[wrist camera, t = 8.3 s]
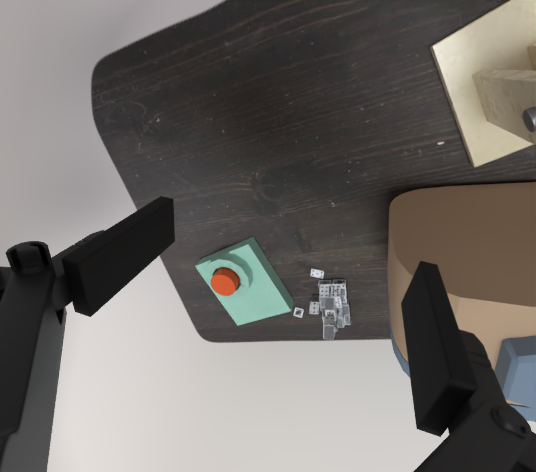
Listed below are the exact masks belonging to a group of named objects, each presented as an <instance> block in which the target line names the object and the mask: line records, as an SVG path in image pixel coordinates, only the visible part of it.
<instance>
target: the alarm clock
mask: <svg viewBox="0 0 536 472" xmlns="http://www.w3.org/2000/svg"><path fill="white" fill-rule="evenodd" d="M420 261H424V262H429V263H433V264H437V265H438V268H439V271H440V274H441V277H442V280H443V283H444V286H445V289H446V292H447V295H448V298H449V301H450V304H451V307H452V310H453V313H454V316H455V319H456V322H457V325H458V328H459V329H460V330H464V331H467V332H471V333H474V334H475V335H476V337H477V338H478V339H479V340H480V341H481V343H482V344H483V345H484V347H485V350H486V352H487V355H488V359H489V360H490V362H491V365H492V369H493V370H494V372H495V375H496V377H497V380H498V382H499V384H500V387H501V389H502V392H503V394H504V397H505V399H506V402H507V404H509V405H510V406H512V407H513V408H515V409H516V410H517V411H518V412H519V413H520V414H521V415H522V416H523V417H524V418H525V420H528V421H535V422H536V182H528V183H506V184H484V185H462V186H446V187H436V188H426V189H417V190H414V191H410V192H406V193H403V194H401V195H399V196H397V197H395V198H394V200H393V201H392V202H391V203H390V208H389V235H388V271H387V293H388V307H389V320H390V334H391V340H392V345H393V350H394V353H395V355H396V357H397V359H398V361H399V363H400V365H401V367H402V369H403V371H404V372H405V373H406V374H407V375H408V376H409V377H410V371H409V364H408V356H407V348H406V340H405V332H404V324H403V317H402V309H401V302H402V300H403V298H404V295H405V293H406V291H407V289H408V287H409V284H410V282H411V280H412V278H413V276H414V273H415V271H416V269H417V267H418V265H419V263H420Z"/></svg>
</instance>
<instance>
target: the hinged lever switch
mask: <svg viewBox="0 0 536 472" xmlns="http://www.w3.org/2000/svg"><path fill="white" fill-rule="evenodd" d="M430 50H431V53H432V56H433V58H434V61H435V64H436V67H437V70H438V72H439V75H440V78H441V81H442V84H443V87H444V89H445V92H446V95H447V98H448V101H449V103H450V106H451V109H452V112H453V115H454V118H455V120H456V123H457V126H458V129H459V132H460V134H461V137H462V140H463V143H464V146H465V149H466V151H467V154H468V157H469V160H470V163H471V164H472V165H473V166H474V167H477V166H480V165H483V164H485V163H488V162H490V161H493V160H495V159H498V158H500V157H503V156H505V155H508V154H510V153H513V152H516V151H518V150H521V149H523V148H526V147H528V146H531V145H533V144H534V145H536V0H509V1H507V2H505V3H503V4H502V5H500V6H498V7H497V8H495V9H493V10H492V11H490V12H488V13H486V14H485V15H483V16H481V17H480V18H478V19H476V20H475V21H473V22H471V23H469V24H468V25H466V26H464V27H463V28H461V29H459V30H457V31H456V32H454V33H452V34H451V35H449V36H447V37H446V38H444V39H442V40H440V41H439V42H437V43H435V44H434V45H432V46H430Z"/></svg>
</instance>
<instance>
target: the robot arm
mask: <svg viewBox="0 0 536 472" xmlns="http://www.w3.org/2000/svg"><path fill="white" fill-rule="evenodd" d="M173 242H175V234H174V206H173V199H170V198H166V197H162V196H160V197H159V198H157V199H156V200H154V201H152V202H151V203H149V204H148V205H146V206H144V207H143V208H141V209H139V210H138V211H136V212H135V213H133V214H131V215H130V216H128V217H127V218H125V219H123V220H122V221H120V222H119V223H117V224H115V225H114V226H112V227H111V228H109V229H107V230H106V231H104V230H102V231H99V232H96V233H93V234H90V235H89V236H87V237H85V238H84V239H82V241H81V240H80V241H79V242H77V243H75V245H72V246H70V247H69V248H67V249H66V250H64V251H62V252H60V253H59V254H57V255H56V256H54V257H52V258H51V256H50V253H49V249H48V245H47V244H45V243H44V242H39V241H30V242H24V243H20V244H18V245H15V246H13V247H11V248H10V249H8V250H7V252H6V255H7V258H8V261H9V263H10V266H11V267H0V472H47V463H48V456H49V449H50V448H49V447H50V441H51V433H52V425H53V417H54V408H55V401H56V393H57V385H58V378H59V370H60V361H61V354H62V346H63V338H64V330H65V322H66V314H67V312H66V308H65V306H67V305H68V304H69V303H71V302H73V306H74V309H75V312H78V313H80V314H83V315H86V316H89V317H91V316H92V315H93V314H94V313H95V312H97V311H98V310H99V309H100V308H101V307H102V306H103V305H104V304H105V303H107V302H108V301H109V300H110V299H111V298H112V297H113V296H114V295H116V294H117V293H118V292H119V291H120V290H121V289H122V288H123V287H124V286H125V285H127V284H128V283H129V282H130V281H131V280H132V279H133V278H134V277H136V276H137V275H138V274H139V273H140V272H141V271H142V270H143V269H144V268H145V267H147V266H148V265H149V264H150V263H151V262H152V261H153V260H154V259H156V258H157V257H158V256H159V255H160V254H161V253H162V252H163V251H165V250H166V249H167V248H168V247H169V246H170V245H171V244H172V243H173ZM401 309H402V317H403V324H404V332H405V340H406V348H407V356H408V364H409V371H410V379H411V387H412V395H413V403H414V410H415V418H416V426H417V429H419V430H422V431H425V432H428V433H431V434H434V435H437V436H439V437H441V435H442V434H443V433H444V431H445V430H446V429H447V428H448V430H449V436H448V437H447V438H446V439H445V440H444V441H443V442H442V443H441V444H440V445H439V446H438V447H437V448H436V449H435V450H434V451H433V452H432V453H431V454H430V455H429V456H428V457H427V459H425V460H424V462H423V463H422V464H421V465H420V466H419V467H418V468H417V469H416V470H415V471H414V472H536V434H535V433H533V432H532V431H531V428H530V425H529V424H528V423H527V421H526V420H525V418H524V417H523V416H522V415H521V414H520V413H519V412H518V411H517V410H516V409H515V408H513V407H512V406H510V405H509V404H507V402H506V399H505V397H504V394H503V392H502V389H501V387H500V384H499V382H498V380H497V377H496V375H495V372H494V370H493V369H492V365H491V362H490V360H489V359H488V355H487V352H486V350H485V347H484V345H483V344H482V343H481V341H480V340H479V339H478V338H477V337H476V335H475V334H474V333H471V332H467V331H464V330H460V329H459V328H458V325H457V322H456V319H455V316H454V313H453V310H452V307H451V304H450V301H449V298H448V295H447V292H446V289H445V286H444V283H443V280H442V277H441V274H440V271H439V268H438V265H437V264H433V263H429V262H424V261H420V263H419V265H418V267H417V269H416V271H415V273H414V276H413V278H412V280H411V282H410V284H409V287H408V289H407V291H406V293H405V295H404V298H403V300H402V302H401Z"/></svg>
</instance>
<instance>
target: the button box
mask: <svg viewBox="0 0 536 472" xmlns="http://www.w3.org/2000/svg"><path fill="white" fill-rule="evenodd" d="M195 267H196V269H197V270H198V271H199V273H200V274H201V275H202V277H203V278H204V280H205V281H206V282H207V284H208V285H209V287H210V288H211V289H212V291H213V292H214V293H215V295H216V296H217V298H218V299H219V300H220V302H221V303H222V305H223V306H224V307H225V309H226V310H227V311H228V313H229V314H230V316H231V317H232V318H233V320H234V321H235V323H236V324H237V325H241V324H245V323H249V322H253V321H256V320H260V319H264V318H267V317H271V316H275V315H278V314H282V313H286V312H289V311H291V310H292V307H293V304H294V300H293V299H292V297H291V296H290V294H289V292H288V291H287V289H286V288H285V286H284V284H283V283H282V281H281V280H280V278H279V277H278V275H277V273H276V272H275V270H274V269H273V267H272V265H271V264H270V262H269V261H268V259H267V258H266V256H265V254H264V253H263V251H262V250H261V248H260V246H259V245H258V243H257V242H256V240H255V239H254V237H251V238H249V239H246V240H244V241H242V242H239V243H237V244H235V245H232V246H230V247H227V248H225V249H223V250H220V251H218V252H216V253H213V254H211V255H209V256H206V257H204V258H202V259H201V260H200V261H199V262H198V263H197V264H196V266H195ZM220 268H229V269H232V270H233V271H235V272H236V273H237V275H238V277H239V285H238V287H237V288H236V290H235V292H234V293H233V294H232V295H230V296H222V295H220V294H218V293H216V292H215V291H214V290H213V288H212V286H211V278H212V277H213V276H214V274H215V273H216V271H217V270H218V269H220Z"/></svg>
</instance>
